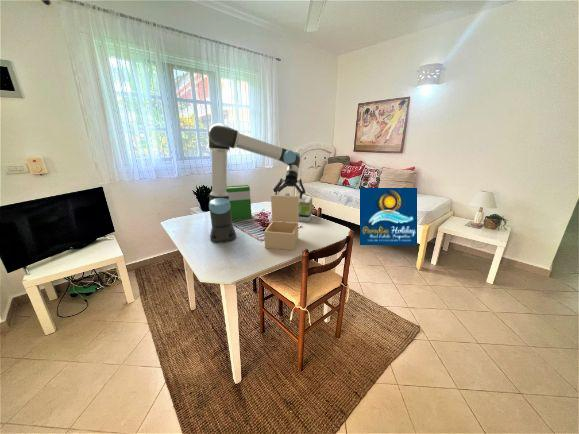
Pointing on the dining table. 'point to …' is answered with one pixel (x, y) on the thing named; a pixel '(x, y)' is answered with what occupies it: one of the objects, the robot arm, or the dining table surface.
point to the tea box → (305, 209)
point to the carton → (281, 235)
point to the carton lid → (285, 208)
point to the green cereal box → (240, 202)
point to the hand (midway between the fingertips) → (287, 202)
